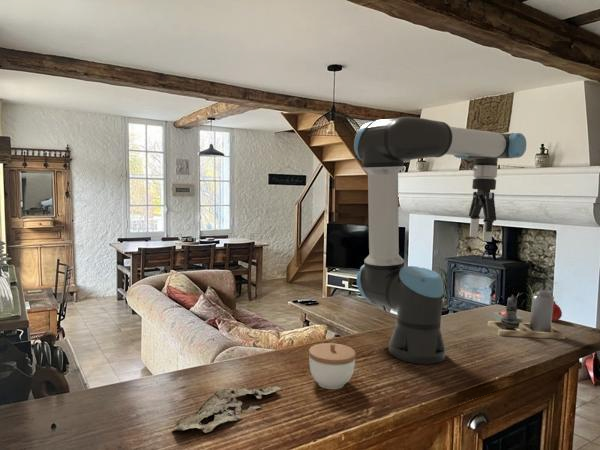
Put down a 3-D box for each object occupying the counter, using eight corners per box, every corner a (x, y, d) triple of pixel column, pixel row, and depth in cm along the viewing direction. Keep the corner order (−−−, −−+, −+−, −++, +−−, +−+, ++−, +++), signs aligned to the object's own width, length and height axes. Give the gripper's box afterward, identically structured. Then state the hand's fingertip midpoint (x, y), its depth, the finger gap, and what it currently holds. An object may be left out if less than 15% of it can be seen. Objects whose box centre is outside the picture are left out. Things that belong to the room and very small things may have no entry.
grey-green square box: (500, 326, 154) (501, 317, 153) (493, 320, 161) (493, 311, 160) (521, 327, 153) (522, 318, 153) (513, 321, 160) (513, 312, 160)
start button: (503, 322, 155) (503, 314, 155) (498, 319, 159) (499, 310, 159) (516, 323, 155) (517, 315, 154) (511, 319, 159) (511, 311, 159)
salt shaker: (514, 328, 149) (517, 292, 147) (523, 334, 143) (526, 297, 141) (496, 327, 149) (499, 291, 147) (504, 333, 143) (507, 296, 142)
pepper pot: (534, 335, 142) (538, 292, 141) (526, 329, 148) (529, 287, 147) (554, 336, 142) (558, 293, 141) (544, 330, 148) (548, 288, 147)
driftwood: (248, 370, 104) (257, 355, 101) (280, 403, 100) (290, 389, 98) (161, 430, 82) (170, 413, 80) (199, 475, 79) (209, 459, 77)
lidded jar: (325, 398, 97) (327, 356, 96) (298, 379, 106) (300, 340, 105) (363, 388, 103) (366, 347, 102) (335, 370, 112) (337, 333, 111)
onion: (539, 322, 160) (541, 300, 160) (545, 319, 164) (547, 297, 163) (557, 326, 156) (559, 303, 155) (563, 323, 160) (565, 301, 159)
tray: (498, 338, 141) (499, 330, 141) (487, 328, 151) (487, 320, 151) (564, 341, 140) (565, 333, 140) (548, 331, 150) (549, 324, 150)
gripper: (462, 178, 169) (458, 234, 171) (486, 177, 145) (481, 242, 147) (483, 179, 169) (478, 235, 171) (510, 178, 144) (505, 244, 146)
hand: (479, 239), depth 159 cm, fingers open, 13 cm apart
